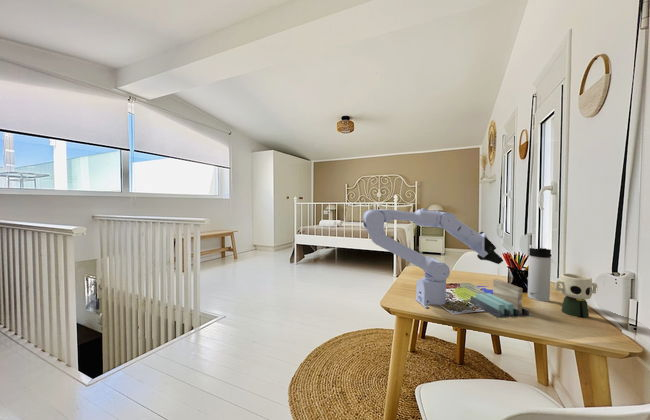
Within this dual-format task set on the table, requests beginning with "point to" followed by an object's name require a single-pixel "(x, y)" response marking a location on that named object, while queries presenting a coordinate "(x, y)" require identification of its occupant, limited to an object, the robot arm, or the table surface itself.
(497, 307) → the offcut
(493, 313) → the rack
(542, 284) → the travel mug
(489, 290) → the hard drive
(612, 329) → the table surface
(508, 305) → the offcut
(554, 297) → the table surface
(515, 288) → the birch sheet
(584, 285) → the character mug
